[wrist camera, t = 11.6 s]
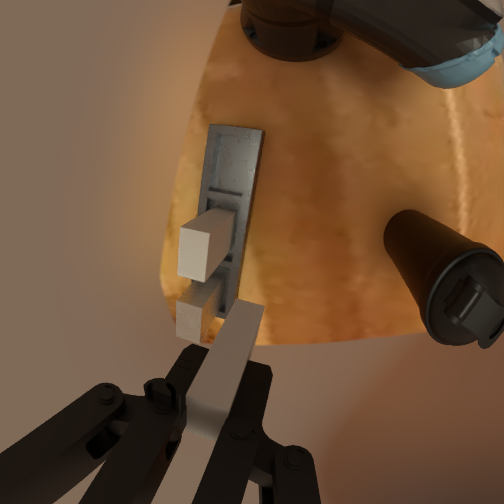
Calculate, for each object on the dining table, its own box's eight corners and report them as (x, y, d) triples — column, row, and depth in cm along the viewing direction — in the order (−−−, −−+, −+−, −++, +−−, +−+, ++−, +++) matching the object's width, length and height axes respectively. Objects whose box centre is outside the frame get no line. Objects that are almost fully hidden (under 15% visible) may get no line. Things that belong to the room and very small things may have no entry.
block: (215, 206, 40) (180, 226, 29) (237, 210, 40) (209, 233, 29) (210, 243, 42) (177, 275, 31) (232, 248, 42) (204, 282, 31)
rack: (213, 125, 37) (174, 115, 25) (265, 131, 36) (244, 121, 24) (194, 301, 48) (162, 343, 36) (234, 312, 47) (212, 359, 35)
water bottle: (413, 278, 38) (474, 376, 17) (366, 248, 38) (413, 347, 17) (446, 225, 34) (537, 293, 13) (399, 191, 34) (490, 238, 13)
